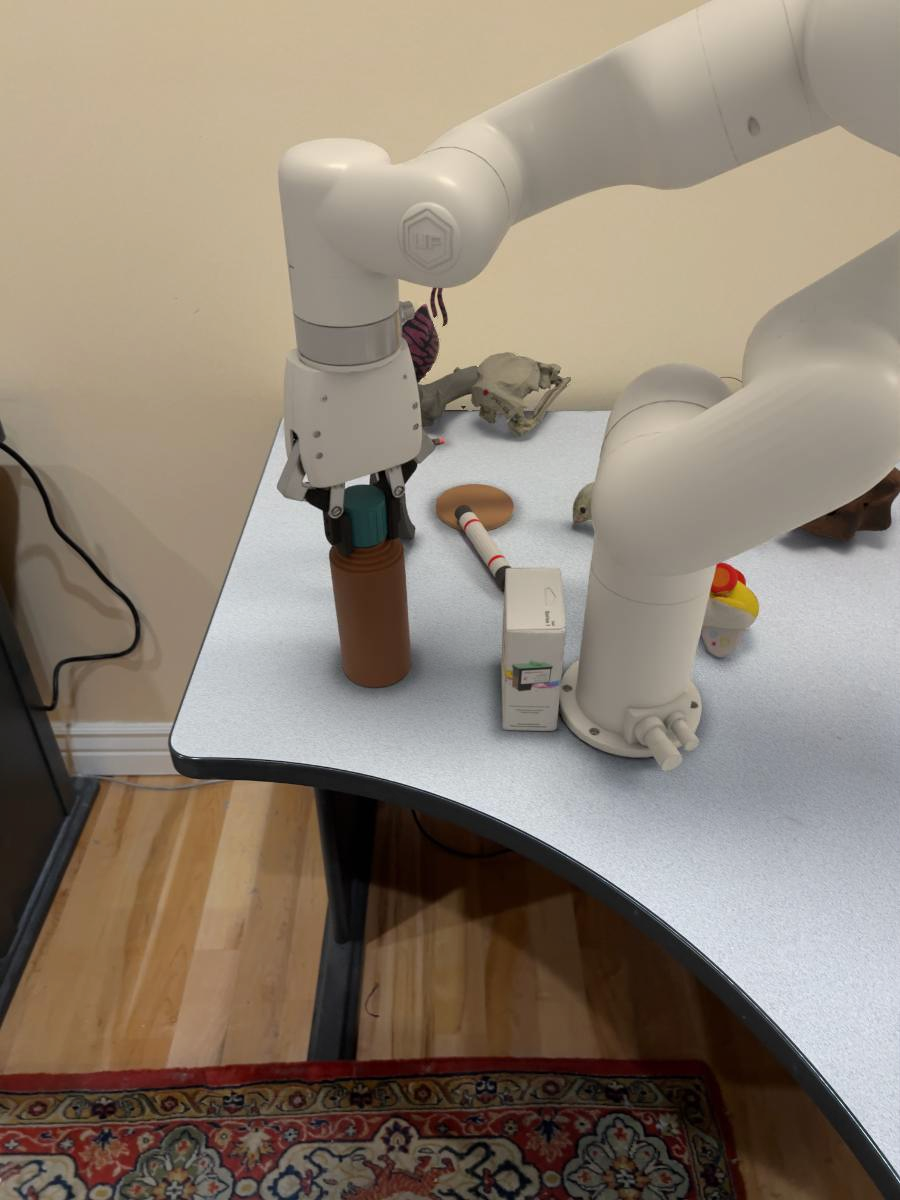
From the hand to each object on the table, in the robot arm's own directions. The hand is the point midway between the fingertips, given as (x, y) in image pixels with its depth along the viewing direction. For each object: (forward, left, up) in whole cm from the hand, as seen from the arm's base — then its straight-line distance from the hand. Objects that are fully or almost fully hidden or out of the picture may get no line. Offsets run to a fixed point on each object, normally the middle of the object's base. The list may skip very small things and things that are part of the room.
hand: (363, 537), depth 78 cm
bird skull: (+43, -35, -15) cm, 58 cm away
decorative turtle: (-1, -54, -10) cm, 55 cm away
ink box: (-9, -12, -15) cm, 21 cm away
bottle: (0, 0, -14) cm, 14 cm away
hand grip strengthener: (+13, -6, -15) cm, 21 cm away
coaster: (+21, -18, -14) cm, 31 cm away
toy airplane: (-10, -34, -11) cm, 37 cm away
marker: (+11, -16, -14) cm, 24 cm away
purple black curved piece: (+41, -12, -3) cm, 43 cm away
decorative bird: (+9, -33, -14) cm, 38 cm away
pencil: (+36, -10, -14) cm, 40 cm away
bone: (+48, -23, -8) cm, 54 cm away
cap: (0, 0, 0) cm, 0 cm away
